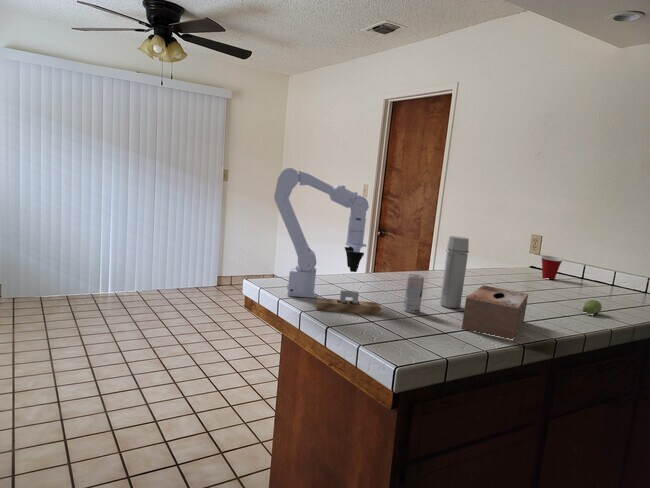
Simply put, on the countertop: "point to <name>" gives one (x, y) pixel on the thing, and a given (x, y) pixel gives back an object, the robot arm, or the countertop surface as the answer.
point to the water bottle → (454, 272)
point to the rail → (348, 306)
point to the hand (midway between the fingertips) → (351, 269)
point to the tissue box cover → (495, 311)
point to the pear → (592, 306)
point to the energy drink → (413, 293)
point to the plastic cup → (550, 266)
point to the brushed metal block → (351, 294)
